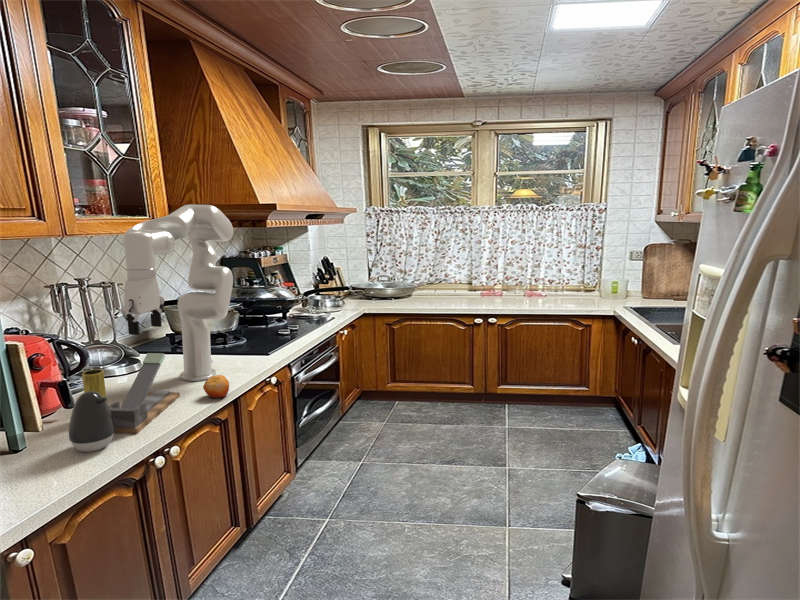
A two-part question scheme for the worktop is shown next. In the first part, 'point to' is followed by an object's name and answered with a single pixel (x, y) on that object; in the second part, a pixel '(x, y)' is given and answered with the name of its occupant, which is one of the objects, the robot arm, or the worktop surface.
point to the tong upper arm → (143, 380)
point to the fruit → (216, 386)
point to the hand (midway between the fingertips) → (145, 330)
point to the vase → (94, 381)
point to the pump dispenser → (91, 423)
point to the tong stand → (141, 411)
